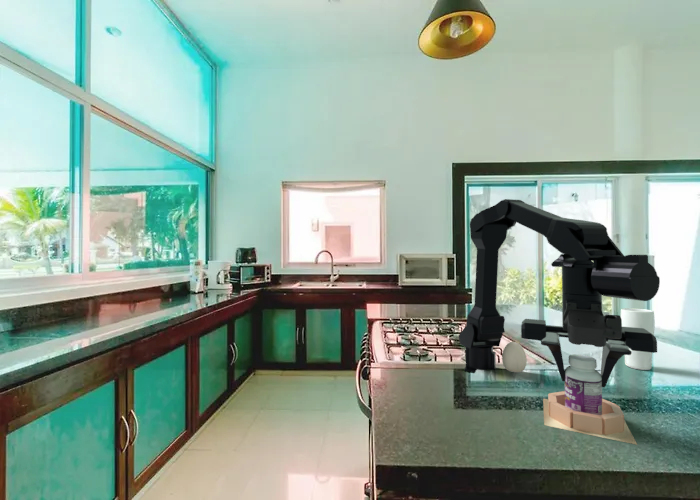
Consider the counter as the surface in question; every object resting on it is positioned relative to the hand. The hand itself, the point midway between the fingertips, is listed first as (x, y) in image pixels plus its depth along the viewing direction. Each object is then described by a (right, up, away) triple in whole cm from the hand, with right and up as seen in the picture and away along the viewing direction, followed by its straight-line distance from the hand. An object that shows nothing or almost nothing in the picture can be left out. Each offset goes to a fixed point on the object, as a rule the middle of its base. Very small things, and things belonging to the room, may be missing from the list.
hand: (582, 383), depth 58 cm
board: (0, -7, 0) cm, 7 cm away
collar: (0, -6, 0) cm, 6 cm away
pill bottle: (0, -5, 0) cm, 5 cm away
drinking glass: (+35, -8, +29) cm, 46 cm away
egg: (0, -8, +25) cm, 26 cm away
